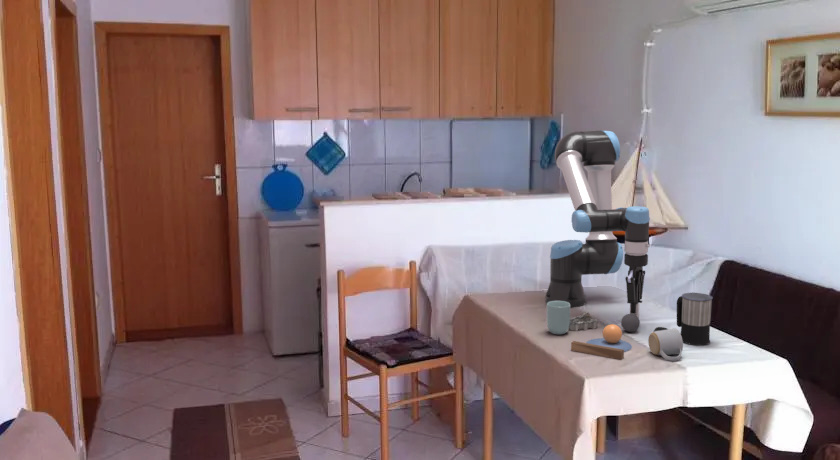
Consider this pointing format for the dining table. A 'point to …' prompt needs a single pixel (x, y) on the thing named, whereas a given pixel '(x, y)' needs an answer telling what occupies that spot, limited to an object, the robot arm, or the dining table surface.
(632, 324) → the dark gray ball
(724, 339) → the dining table surface
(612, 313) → the dining table surface
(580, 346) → the wall
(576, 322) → the egg carton
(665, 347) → the ceramic mug
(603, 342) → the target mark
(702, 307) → the milk frother
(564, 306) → the cup
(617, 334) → the terracotta ball
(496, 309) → the dining table surface
